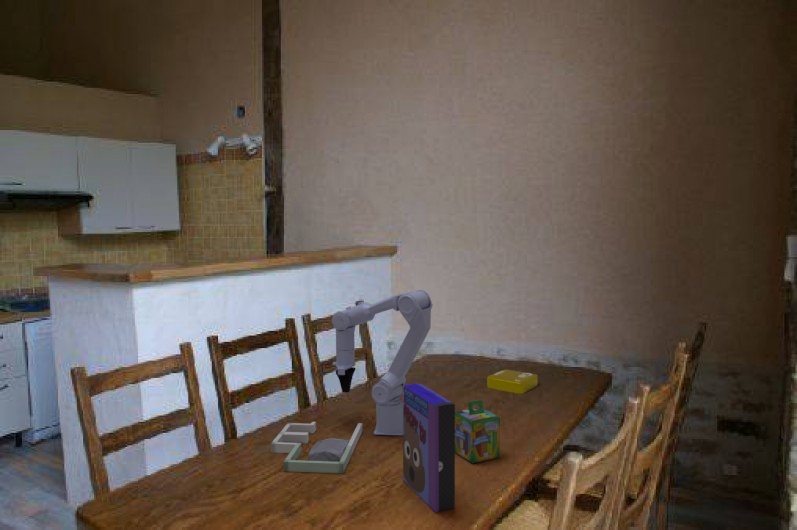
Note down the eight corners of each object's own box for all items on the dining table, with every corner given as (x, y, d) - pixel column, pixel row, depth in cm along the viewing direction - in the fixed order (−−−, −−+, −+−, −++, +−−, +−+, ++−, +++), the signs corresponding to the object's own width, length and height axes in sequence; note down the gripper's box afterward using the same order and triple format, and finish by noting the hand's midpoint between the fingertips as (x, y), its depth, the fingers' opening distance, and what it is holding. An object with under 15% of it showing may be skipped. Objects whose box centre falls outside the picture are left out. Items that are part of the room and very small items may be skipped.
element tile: (503, 379, 238) (503, 367, 238) (539, 385, 229) (539, 373, 229) (485, 388, 227) (485, 375, 226) (521, 395, 218) (521, 382, 217)
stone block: (308, 473, 157) (345, 466, 156) (304, 455, 157) (341, 448, 156) (317, 456, 169) (352, 450, 168) (314, 439, 169) (348, 433, 168)
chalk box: (472, 464, 157) (472, 409, 156) (453, 452, 165) (453, 399, 164) (501, 458, 161) (501, 403, 160) (481, 446, 169) (481, 394, 168)
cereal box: (403, 481, 148) (402, 385, 146) (420, 477, 149) (420, 382, 147) (435, 513, 132) (435, 406, 130) (454, 508, 134) (454, 403, 131)
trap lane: (362, 431, 181) (362, 423, 181) (343, 473, 152) (343, 463, 152) (289, 429, 184) (289, 421, 184) (257, 470, 154) (256, 460, 154)
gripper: (337, 343, 195) (338, 384, 196) (327, 354, 180) (328, 398, 181) (359, 343, 194) (359, 385, 195) (350, 354, 180) (351, 399, 181)
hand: (345, 391), depth 188 cm, fingers closed
